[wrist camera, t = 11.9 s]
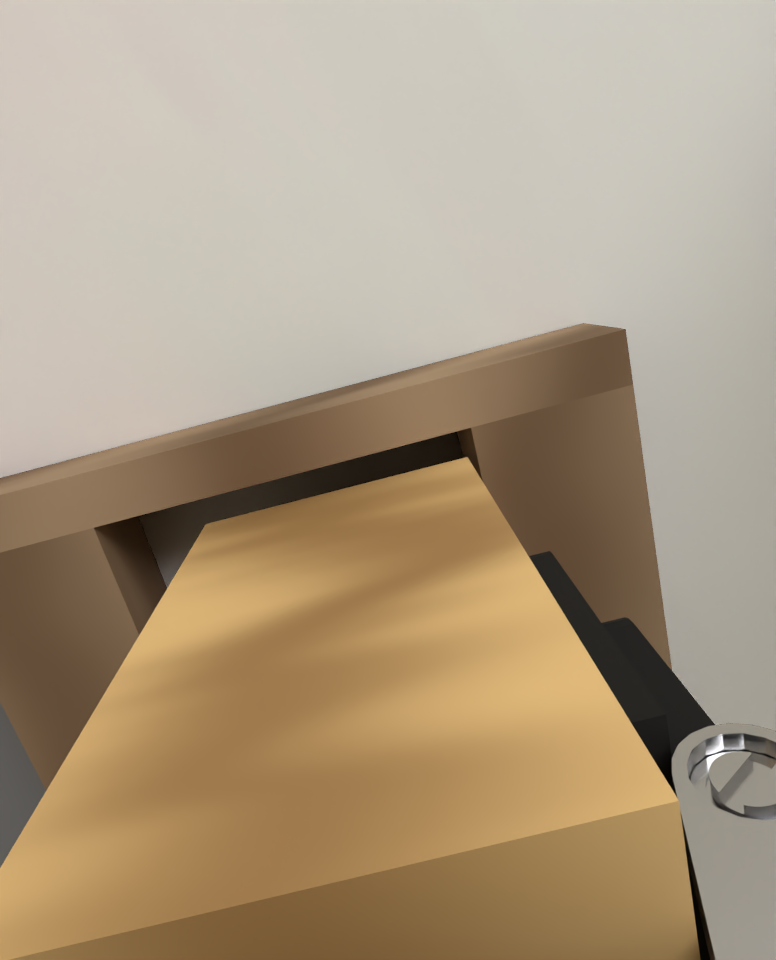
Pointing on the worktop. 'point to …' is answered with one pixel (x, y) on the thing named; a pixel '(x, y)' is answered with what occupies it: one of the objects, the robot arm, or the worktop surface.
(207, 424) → the board
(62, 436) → the worktop surface
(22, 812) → the mat
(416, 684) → the block
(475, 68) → the worktop surface
